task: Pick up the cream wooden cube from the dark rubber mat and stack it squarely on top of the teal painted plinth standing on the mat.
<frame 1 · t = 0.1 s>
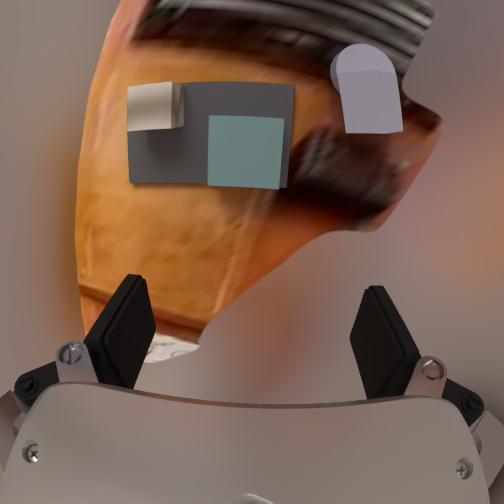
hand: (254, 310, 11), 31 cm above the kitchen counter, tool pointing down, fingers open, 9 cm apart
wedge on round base: (361, 88, 32), on the kitchen counter
mat: (205, 132, 36), on the kitchen counter
plinth: (246, 147, 36), resting on mat
cream cube: (164, 107, 34), point 1 cm above the kitchen counter, touching mat
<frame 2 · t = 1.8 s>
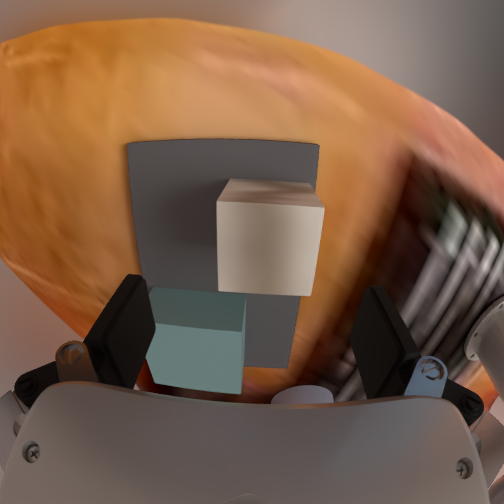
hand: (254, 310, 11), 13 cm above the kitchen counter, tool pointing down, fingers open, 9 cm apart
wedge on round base: (288, 402, 36), on the kitchen counter
mat: (220, 273, 25), on the kitchen counter
plinth: (201, 326, 27), resting on mat
cream cube: (267, 217, 22), point 1 cm above the kitchen counter, touching mat
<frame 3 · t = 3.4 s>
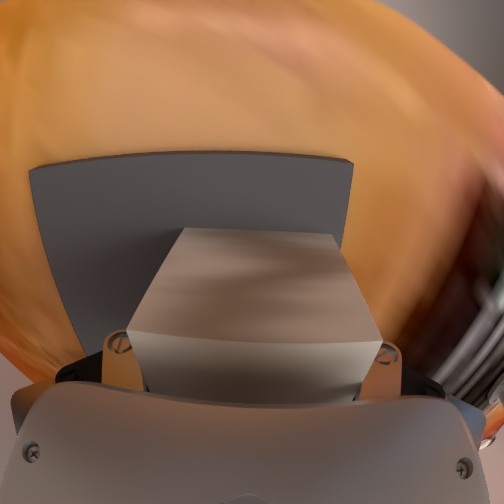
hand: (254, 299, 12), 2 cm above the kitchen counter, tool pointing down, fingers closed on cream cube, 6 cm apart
mat: (187, 354, 16), on the kitchen counter
cream cube: (255, 291, 12), point 1 cm above the kitchen counter, touching gripper, mat
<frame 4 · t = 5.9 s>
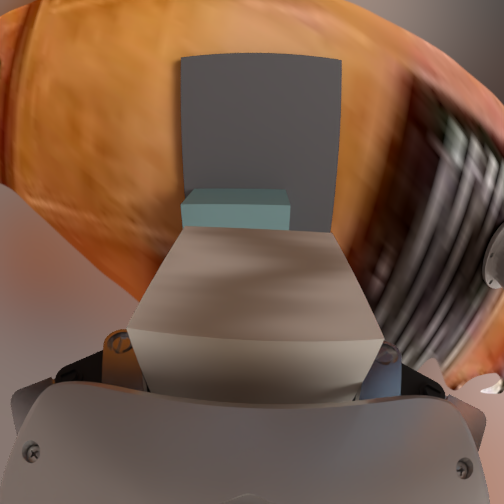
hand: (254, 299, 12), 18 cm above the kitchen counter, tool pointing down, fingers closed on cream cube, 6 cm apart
mat: (260, 171, 27), on the kitchen counter
plinth: (239, 230, 29), resting on mat
cream cube: (255, 290, 12), point 17 cm above the kitchen counter, touching gripper
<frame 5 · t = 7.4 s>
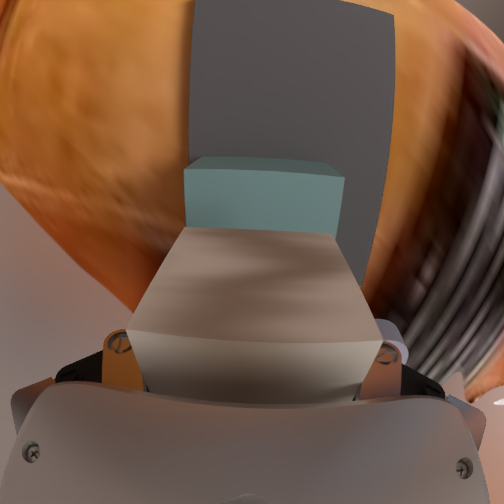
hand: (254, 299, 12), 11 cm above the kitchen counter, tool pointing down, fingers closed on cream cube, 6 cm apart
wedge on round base: (347, 349, 29), on the kitchen counter
mat: (292, 138, 19), on the kitchen counter
plinth: (261, 216, 21), resting on mat
cream cube: (255, 291, 12), point 11 cm above the kitchen counter, touching gripper
when the fingers open (8 cm above the kitchen counter, at t = 8.5 s): cream cube drops 1 cm, resting on plinth.
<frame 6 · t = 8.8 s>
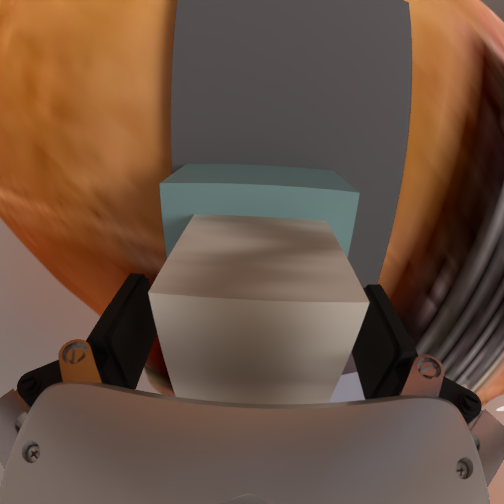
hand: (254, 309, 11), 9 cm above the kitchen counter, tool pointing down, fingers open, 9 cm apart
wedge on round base: (351, 369, 27), on the kitchen counter
mat: (293, 141, 16), on the kitchen counter
plinth: (257, 233, 18), resting on mat
cream cube: (257, 273, 14), point 6 cm above the kitchen counter, touching plinth
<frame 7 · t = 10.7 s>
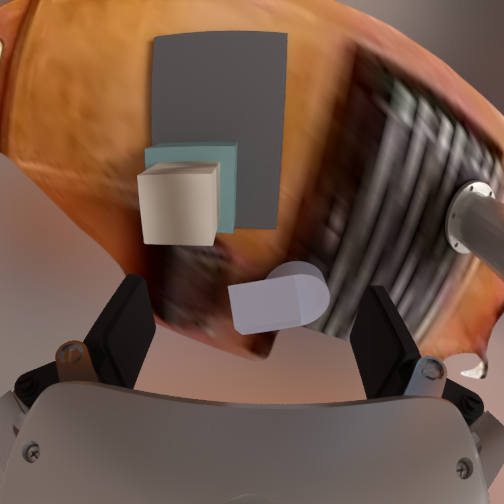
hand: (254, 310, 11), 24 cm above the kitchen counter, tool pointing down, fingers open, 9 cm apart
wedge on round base: (280, 289, 40), on the kitchen counter
mat: (216, 128, 29), on the kitchen counter
plinth: (197, 179, 31), resting on mat
cream cube: (189, 190, 27), point 6 cm above the kitchen counter, touching plinth
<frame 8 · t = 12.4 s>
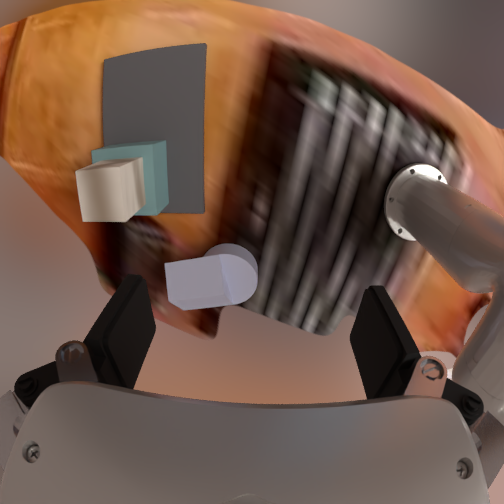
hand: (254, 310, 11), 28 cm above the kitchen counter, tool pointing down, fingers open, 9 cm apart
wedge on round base: (217, 270, 44), on the kitchen counter
mat: (151, 130, 34), on the kitchen counter
plinth: (138, 173, 36), resting on mat
cream cube: (123, 181, 31), point 6 cm above the kitchen counter, touching plinth
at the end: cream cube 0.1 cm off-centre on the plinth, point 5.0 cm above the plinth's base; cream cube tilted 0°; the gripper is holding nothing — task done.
